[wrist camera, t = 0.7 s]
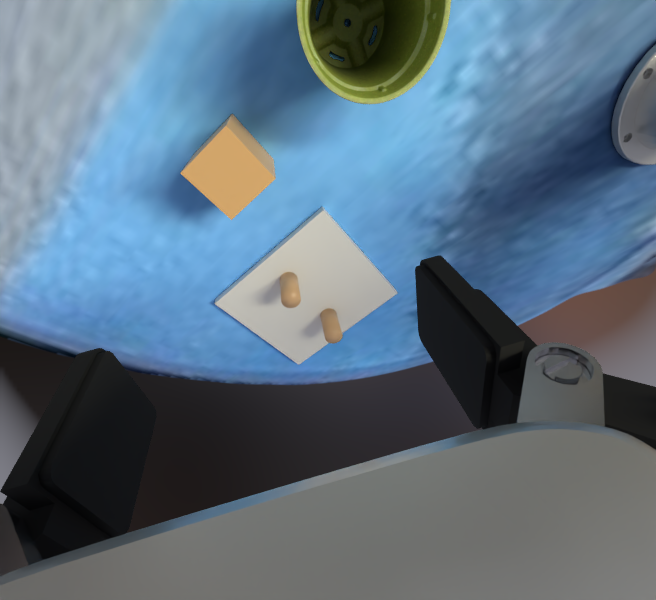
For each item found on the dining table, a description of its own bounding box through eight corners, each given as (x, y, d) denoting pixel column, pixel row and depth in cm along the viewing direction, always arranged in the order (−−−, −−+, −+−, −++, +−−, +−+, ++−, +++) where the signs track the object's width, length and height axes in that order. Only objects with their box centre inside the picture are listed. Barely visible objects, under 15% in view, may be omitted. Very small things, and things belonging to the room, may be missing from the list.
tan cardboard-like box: (232, 113, 30) (226, 125, 25) (273, 159, 33) (275, 178, 28) (193, 154, 32) (180, 173, 27) (236, 195, 34) (231, 219, 29)
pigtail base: (322, 206, 36) (329, 225, 32) (395, 288, 43) (408, 312, 39) (215, 298, 40) (210, 326, 36) (298, 359, 48) (301, 388, 44)
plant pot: (424, -27, 27) (481, -55, 20) (378, 107, 32) (411, 122, 25) (306, -86, 24) (324, -144, 17) (275, 70, 29) (279, 75, 22)
